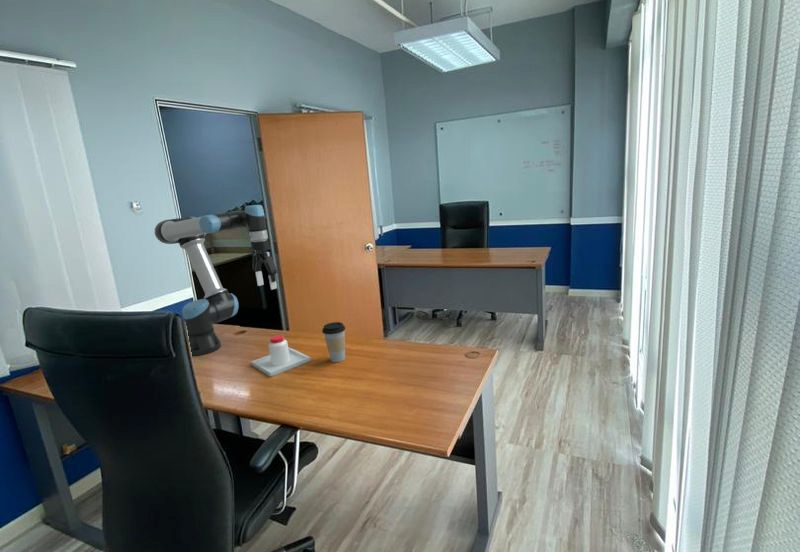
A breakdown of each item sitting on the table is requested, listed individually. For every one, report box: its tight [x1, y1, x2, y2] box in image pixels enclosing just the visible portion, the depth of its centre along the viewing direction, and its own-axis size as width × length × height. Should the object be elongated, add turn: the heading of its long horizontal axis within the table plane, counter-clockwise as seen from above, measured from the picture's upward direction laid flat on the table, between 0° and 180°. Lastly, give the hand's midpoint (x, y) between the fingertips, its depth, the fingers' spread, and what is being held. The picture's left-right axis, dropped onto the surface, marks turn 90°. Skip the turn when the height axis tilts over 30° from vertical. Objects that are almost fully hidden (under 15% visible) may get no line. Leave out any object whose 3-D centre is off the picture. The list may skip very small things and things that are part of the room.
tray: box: [250, 347, 312, 378], centre depth 178 cm, size 18×18×2 cm
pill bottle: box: [267, 334, 290, 366], centre depth 177 cm, size 8×8×11 cm
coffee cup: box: [322, 321, 346, 363], centre depth 175 cm, size 9×9×15 cm
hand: (267, 287), depth 192 cm, fingers open, 13 cm apart
